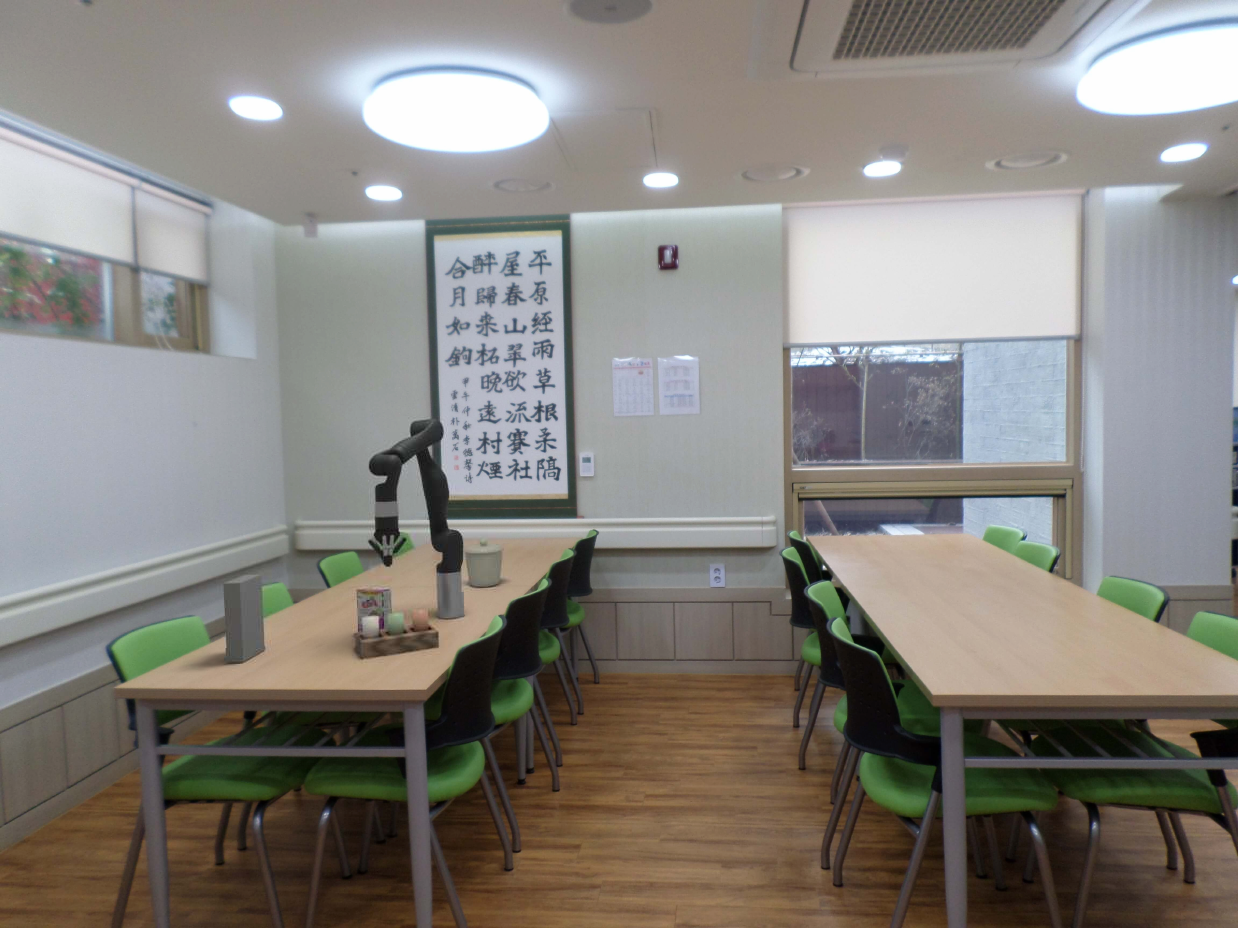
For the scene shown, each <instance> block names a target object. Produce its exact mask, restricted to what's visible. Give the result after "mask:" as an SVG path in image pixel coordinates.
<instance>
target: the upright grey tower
mask: <svg viewBox="0 0 1238 928" xmlns="http://www.w3.org/2000/svg"><path fill="white" fill-rule="evenodd" d="M262 580H263V577H262V574H245V575H242V576H239V577H237V578H234V579H232V580H229V581H226V582H224V583H223V601H224V602H223V603H224V605H223V606H224V625H225V644H226V645H225V646H226V647H225V657H226V658H224V663H226V664H230V663H240V664H244V663H245V662H247V661H248V660H250V659H252V658H254V657H255V656H257V655H259V654H260V653H263V652H264V651H265V650H266V646H265V625H264V624H265V623H264V604H263V582H262Z"/></svg>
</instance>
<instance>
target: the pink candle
mask: <svg viewBox="0 0 1238 928" xmlns="http://www.w3.org/2000/svg"><path fill="white" fill-rule="evenodd" d="M428 624H429V610H428V609H426V608H420V609H414V610H412V625H413V632H420V631H427V630H429V625H428Z"/></svg>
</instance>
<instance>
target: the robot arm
mask: <svg viewBox="0 0 1238 928" xmlns="http://www.w3.org/2000/svg"><path fill="white" fill-rule="evenodd" d="M444 433H445V430H444V426H443V424H442V422H441V421H440V420H438V419H436V418H428V419H419V420H413V421H412V422H411V424H410V427H409V434H410V436H409V437H406V438H404V439H402V440H400V441H398V442H397V443H396V444H393V446H392V447H390V448H388V449H385V450H383V451H380V452H378V453H376V454H374V455H373V456H372V457H371V458H370V460H369V461H368V470H369V472H370V473H371V474H372V475H373V476H377V477H386V480H385V481H384V482H382V483H378V484H376V485H375V487H374V499H375V500H374V533H373V536H372V537H371V538H370V539H367V543H368V544H369V546H371V548H372V549H373V550H374V551H375V552H376V553H377V554H378V555H380V556H382V564H383V566H385V567H386V568H388V567H389V568H390V567H391V565H393V556H394V554H397V553H398V552H399V551H400V550H401V549H402V547H403V546H404V545H405V542H407V537H405V536H402V535H401V532H400V529H399V526H400V525H399V505H398V485H399V482H400V478H401V473H402V468H403V465H405V464H406V463H407V462H408V461H410V460H411V459H412V458H413V457H414V456H415V457H416V461H417V464H418V468H419V469H418V470H419V474H420V478H421V485H422V491H423V495H424V496H423V497H424V499H425V504H426V510H427V511H426V512H427V515H428V521H429V522H428V523H429V531H430V532H429V533H430V535H429V536H430V542H431V545H432V548H433V550H435V551H436V552H437V553H442V555H441V556H442V557H441V561H440V562H438V563H437V564H436V567H435V569H436V570H435V571H436V572H435V573H436V597H437V598H436V599H437V600H436V601H437V603H436V604H437V617H438V618H439V619H445V620H449V619H456V618H460V617H464V616H465V597H464V596H465V595H464V590H463V585H462V584H463V582H462V567H463V566H462V565H463V564H464V563H463V562H464V551H463V550H464V538H463V536H462V533H461V532H460V531H459V530H457V529H452V528H449V525H448V521H447V507H448V505H449V502H450V501H449V499H450V490H449V489H450V488H449V483H448V478H447V475H446V474H445V472H444V471H443V470H442V468H441V467H440V466H439V465H438V464H437V463H436V462H435V460H434V459H433V457H432V455H431V454H430V451H429V447H431V446H434V445H435V444H438V443H439V442H441V440H443V438H444ZM397 541H398V542H397ZM377 542H378V543H379V545H380V546H381V549H380V548H379V547H378V546H377V544H376V543H377ZM396 542H397V543H396ZM394 544H396V545H395V547H394Z"/></svg>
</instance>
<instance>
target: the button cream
mask: <svg viewBox="0 0 1238 928" xmlns="http://www.w3.org/2000/svg"><path fill="white" fill-rule="evenodd" d="M362 626H363V640H364V639H371V638H378V637H379V617H378V616H366V617H363V618H362Z"/></svg>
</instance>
